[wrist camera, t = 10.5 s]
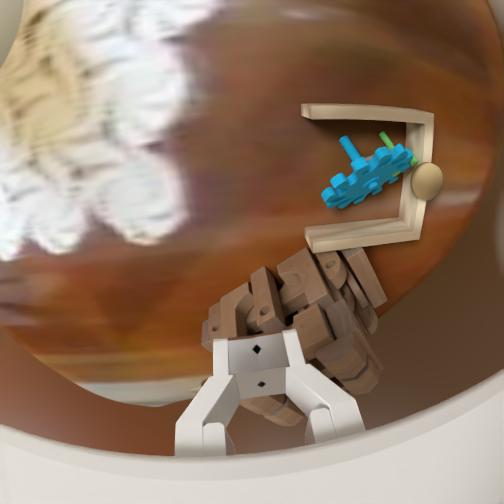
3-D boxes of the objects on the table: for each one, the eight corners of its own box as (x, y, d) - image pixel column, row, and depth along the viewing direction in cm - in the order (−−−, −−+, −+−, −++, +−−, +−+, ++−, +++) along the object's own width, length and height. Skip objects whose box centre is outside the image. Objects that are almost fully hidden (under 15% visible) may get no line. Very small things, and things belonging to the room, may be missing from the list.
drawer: (300, 103, 24) (313, 106, 21) (424, 110, 25) (448, 116, 21) (304, 236, 32) (315, 257, 28) (413, 224, 32) (431, 241, 29)
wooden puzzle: (341, 216, 31) (430, 340, 15) (380, 293, 38) (441, 400, 22) (189, 311, 36) (179, 448, 21) (254, 363, 43) (268, 473, 27)
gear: (320, 224, 29) (340, 180, 20) (296, 177, 31) (303, 121, 21) (401, 189, 30) (440, 144, 20) (376, 148, 31) (403, 95, 21)
